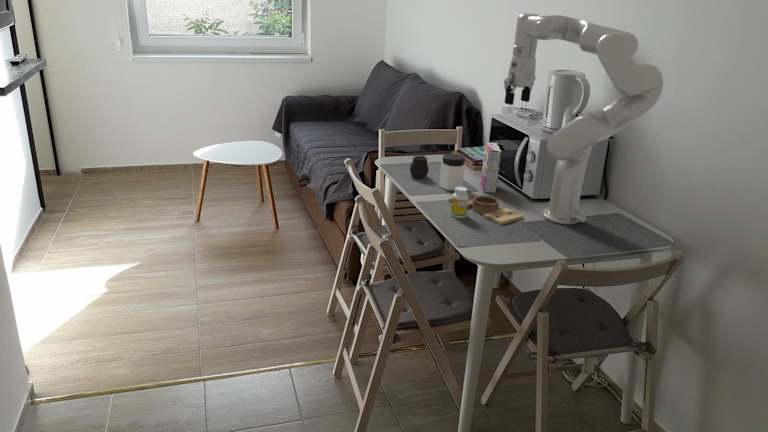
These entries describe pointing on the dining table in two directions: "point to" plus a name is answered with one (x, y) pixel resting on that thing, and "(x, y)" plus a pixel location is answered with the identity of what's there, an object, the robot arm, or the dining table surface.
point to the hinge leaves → (491, 209)
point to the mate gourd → (419, 166)
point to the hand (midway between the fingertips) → (516, 102)
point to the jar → (452, 171)
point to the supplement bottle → (459, 202)
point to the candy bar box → (490, 167)
